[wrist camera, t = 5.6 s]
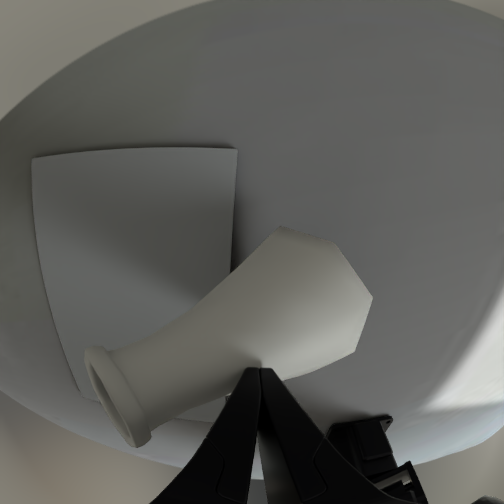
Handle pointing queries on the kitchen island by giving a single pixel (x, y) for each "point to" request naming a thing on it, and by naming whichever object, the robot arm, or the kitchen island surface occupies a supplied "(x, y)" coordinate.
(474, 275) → the kitchen island surface
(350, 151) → the kitchen island surface
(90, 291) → the mat
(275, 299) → the flask
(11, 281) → the kitchen island surface
